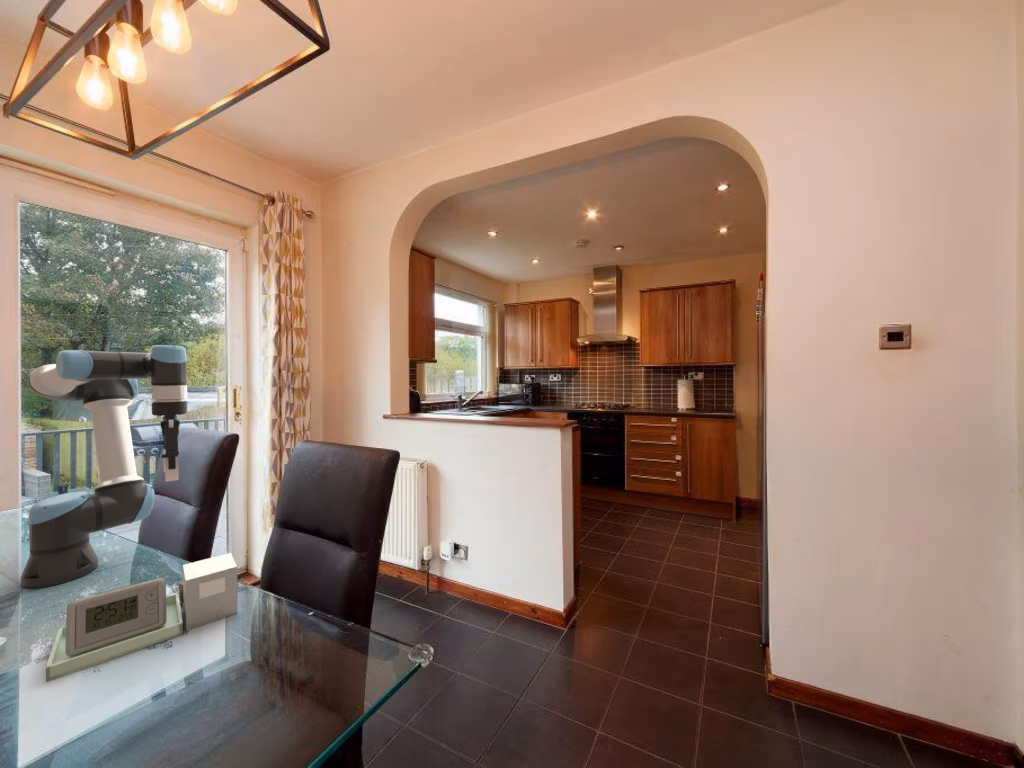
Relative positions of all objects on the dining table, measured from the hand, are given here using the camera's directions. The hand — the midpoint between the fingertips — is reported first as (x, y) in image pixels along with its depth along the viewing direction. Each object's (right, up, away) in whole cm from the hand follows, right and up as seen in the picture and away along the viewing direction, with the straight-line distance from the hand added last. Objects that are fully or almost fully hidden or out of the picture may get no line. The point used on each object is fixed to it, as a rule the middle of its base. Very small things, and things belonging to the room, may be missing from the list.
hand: (170, 475), depth 110 cm
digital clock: (+7, -32, -21) cm, 39 cm away
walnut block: (+11, -32, -5) cm, 34 cm away
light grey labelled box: (+19, -32, -11) cm, 39 cm away
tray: (+6, -32, -20) cm, 39 cm away
